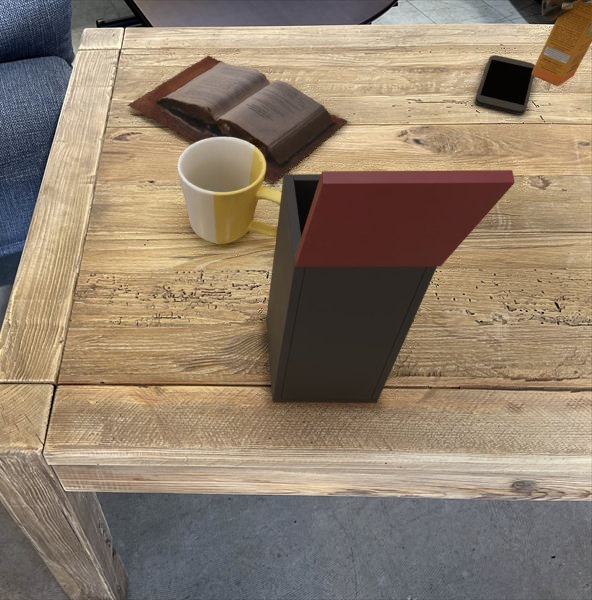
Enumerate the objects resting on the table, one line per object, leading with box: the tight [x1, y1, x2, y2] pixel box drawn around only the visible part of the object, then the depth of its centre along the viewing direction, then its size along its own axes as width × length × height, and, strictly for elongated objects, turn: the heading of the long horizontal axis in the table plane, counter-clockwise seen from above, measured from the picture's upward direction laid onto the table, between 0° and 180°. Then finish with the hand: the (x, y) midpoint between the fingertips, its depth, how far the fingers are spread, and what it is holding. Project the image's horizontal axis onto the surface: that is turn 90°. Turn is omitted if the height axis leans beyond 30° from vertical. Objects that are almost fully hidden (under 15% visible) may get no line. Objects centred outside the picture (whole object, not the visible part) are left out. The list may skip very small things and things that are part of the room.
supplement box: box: [532, 3, 592, 87], centre depth 60 cm, size 3×3×10 cm
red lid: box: [295, 169, 516, 268], centre depth 39 cm, size 12×11×1 cm
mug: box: [176, 137, 282, 245], centre depth 72 cm, size 14×10×10 cm
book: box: [127, 55, 348, 184], centre depth 91 cm, size 20×28×4 cm
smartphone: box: [474, 54, 535, 115], centre depth 95 cm, size 7×15×1 cm, turn 154°
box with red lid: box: [265, 173, 438, 404], centre depth 56 cm, size 11×11×21 cm
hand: (572, 9), depth 60 cm, fingers closed on supplement box, 4 cm apart
